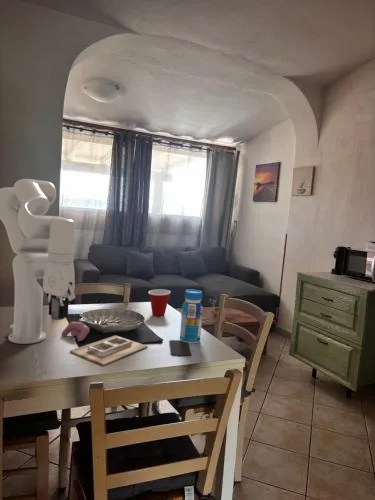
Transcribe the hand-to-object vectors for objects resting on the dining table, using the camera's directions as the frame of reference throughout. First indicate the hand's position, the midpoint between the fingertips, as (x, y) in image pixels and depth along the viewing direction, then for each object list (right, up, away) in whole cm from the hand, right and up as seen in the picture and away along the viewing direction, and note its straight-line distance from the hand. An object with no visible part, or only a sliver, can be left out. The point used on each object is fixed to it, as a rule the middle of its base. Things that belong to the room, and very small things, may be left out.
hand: (58, 315), depth 117 cm
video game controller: (-2, -13, +24) cm, 27 cm away
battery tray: (+13, -15, +15) cm, 25 cm away
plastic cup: (+26, -11, +62) cm, 68 cm away
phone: (+38, -17, +22) cm, 47 cm away
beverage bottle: (+42, -16, +31) cm, 54 cm away
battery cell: (0, -1, 0) cm, 1 cm away
